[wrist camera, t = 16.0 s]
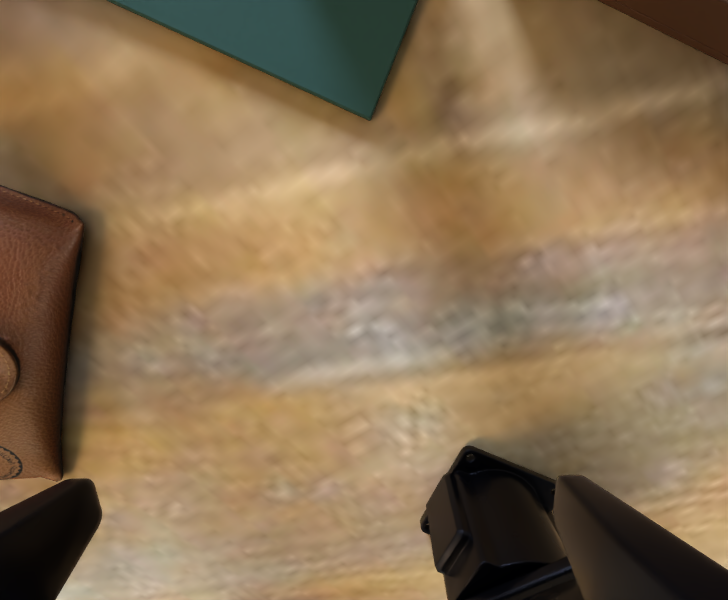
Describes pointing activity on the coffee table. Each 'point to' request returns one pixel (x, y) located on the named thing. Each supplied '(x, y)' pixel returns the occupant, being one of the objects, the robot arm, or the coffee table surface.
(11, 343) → the sunglasses case
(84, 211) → the coffee table surface
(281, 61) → the mat
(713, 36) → the tray
